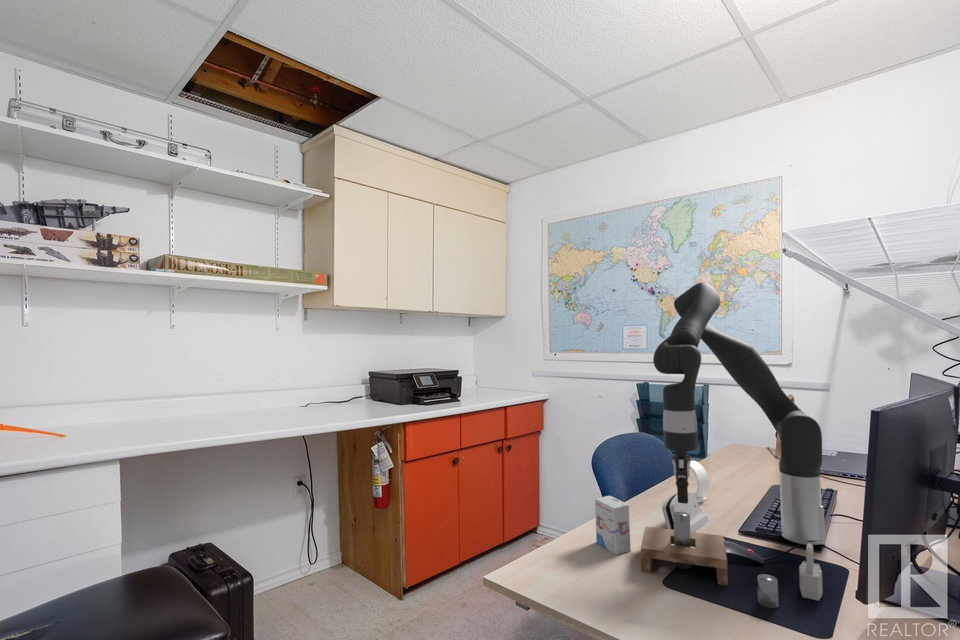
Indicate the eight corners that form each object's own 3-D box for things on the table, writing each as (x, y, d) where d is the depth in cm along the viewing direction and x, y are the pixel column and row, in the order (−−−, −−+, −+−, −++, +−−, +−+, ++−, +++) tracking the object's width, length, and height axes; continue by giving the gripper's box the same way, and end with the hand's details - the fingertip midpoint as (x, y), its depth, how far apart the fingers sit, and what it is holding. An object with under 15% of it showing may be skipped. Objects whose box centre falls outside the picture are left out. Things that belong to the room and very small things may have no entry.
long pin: (691, 563, 120) (689, 512, 120) (691, 569, 116) (689, 517, 117) (675, 560, 121) (673, 510, 121) (674, 567, 118) (673, 515, 118)
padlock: (822, 602, 101) (820, 552, 102) (798, 597, 104) (797, 548, 104) (823, 588, 107) (821, 540, 107) (800, 582, 110) (799, 536, 110)
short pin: (774, 599, 103) (774, 574, 103) (781, 609, 99) (780, 583, 99) (755, 597, 104) (755, 573, 104) (761, 607, 100) (760, 582, 100)
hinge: (686, 538, 134) (673, 500, 137) (670, 539, 137) (657, 502, 140) (709, 520, 146) (696, 486, 149) (694, 522, 149) (681, 488, 152)
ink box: (594, 542, 133) (593, 497, 133) (610, 539, 135) (609, 494, 135) (615, 555, 125) (614, 507, 125) (631, 551, 127) (630, 504, 127)
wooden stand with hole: (723, 558, 122) (722, 535, 122) (727, 585, 109) (727, 560, 109) (645, 547, 129) (645, 526, 129) (641, 572, 116) (640, 548, 116)
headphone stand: (694, 496, 168) (693, 460, 168) (710, 501, 163) (708, 464, 163) (684, 498, 166) (683, 462, 166) (699, 504, 161) (698, 466, 161)
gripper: (698, 434, 111) (701, 508, 111) (696, 424, 125) (699, 489, 124) (662, 433, 114) (665, 505, 113) (664, 423, 127) (666, 487, 127)
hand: (682, 497), depth 119 cm, fingers open, 8 cm apart
